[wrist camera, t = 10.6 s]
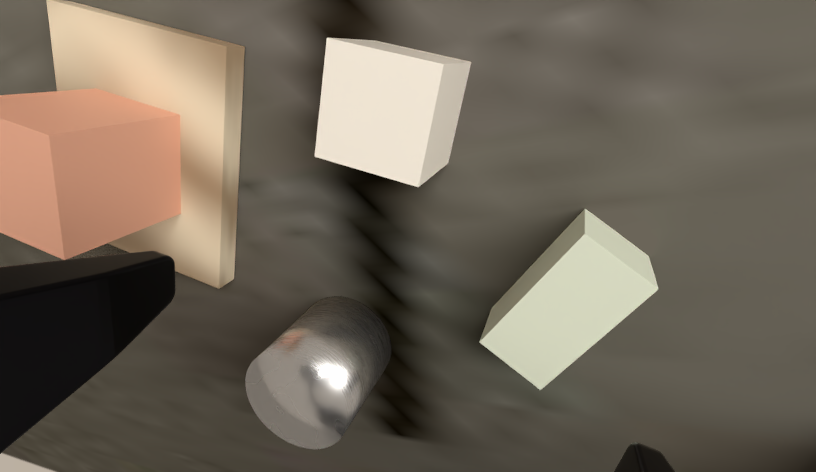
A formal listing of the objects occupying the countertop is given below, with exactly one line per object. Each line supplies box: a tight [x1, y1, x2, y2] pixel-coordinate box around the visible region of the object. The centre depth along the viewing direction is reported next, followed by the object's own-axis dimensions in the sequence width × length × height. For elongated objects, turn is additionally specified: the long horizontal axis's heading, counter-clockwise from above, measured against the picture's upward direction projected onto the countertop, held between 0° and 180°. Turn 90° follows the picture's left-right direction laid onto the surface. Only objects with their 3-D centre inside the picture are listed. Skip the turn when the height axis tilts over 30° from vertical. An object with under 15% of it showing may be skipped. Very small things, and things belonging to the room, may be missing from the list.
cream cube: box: [315, 38, 471, 187], centre depth 17 cm, size 4×4×4 cm
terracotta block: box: [0, 88, 181, 260], centre depth 21 cm, size 5×5×6 cm
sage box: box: [480, 209, 658, 390], centre depth 18 cm, size 6×3×3 cm, turn 147°
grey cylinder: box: [245, 296, 391, 449], centre depth 22 cm, size 5×5×5 cm
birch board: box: [47, 0, 245, 289], centre depth 24 cm, size 12×10×1 cm
